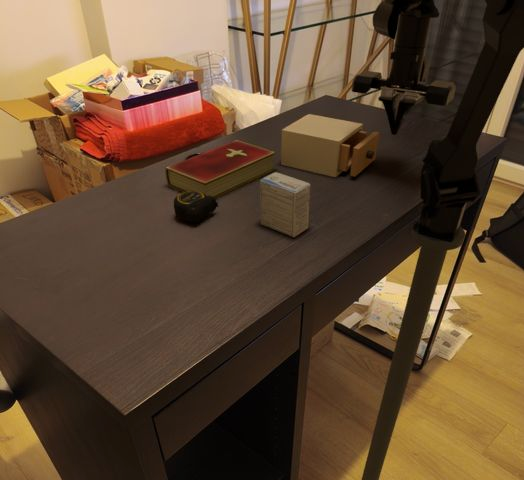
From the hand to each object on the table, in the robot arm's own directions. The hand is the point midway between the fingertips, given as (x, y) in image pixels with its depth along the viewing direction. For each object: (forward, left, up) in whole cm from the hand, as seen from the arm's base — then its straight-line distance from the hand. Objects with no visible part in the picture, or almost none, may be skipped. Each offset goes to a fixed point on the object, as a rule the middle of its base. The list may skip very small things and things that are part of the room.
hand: (394, 134), depth 97 cm
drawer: (+11, 0, -8) cm, 13 cm away
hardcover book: (+30, +19, -9) cm, 37 cm away
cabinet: (+16, 0, -9) cm, 18 cm away
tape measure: (+24, +36, -9) cm, 44 cm away
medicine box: (+8, +31, -9) cm, 33 cm away
